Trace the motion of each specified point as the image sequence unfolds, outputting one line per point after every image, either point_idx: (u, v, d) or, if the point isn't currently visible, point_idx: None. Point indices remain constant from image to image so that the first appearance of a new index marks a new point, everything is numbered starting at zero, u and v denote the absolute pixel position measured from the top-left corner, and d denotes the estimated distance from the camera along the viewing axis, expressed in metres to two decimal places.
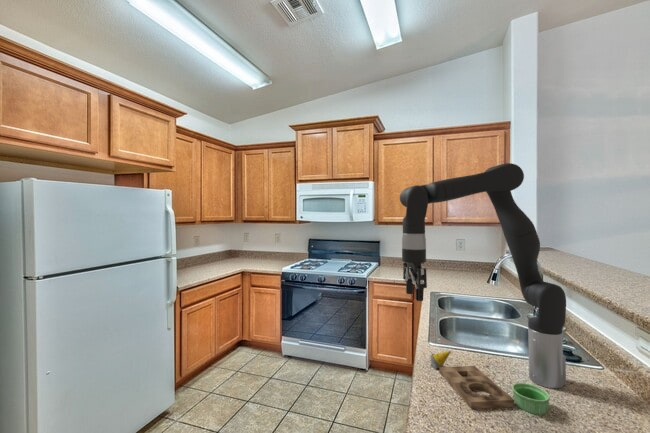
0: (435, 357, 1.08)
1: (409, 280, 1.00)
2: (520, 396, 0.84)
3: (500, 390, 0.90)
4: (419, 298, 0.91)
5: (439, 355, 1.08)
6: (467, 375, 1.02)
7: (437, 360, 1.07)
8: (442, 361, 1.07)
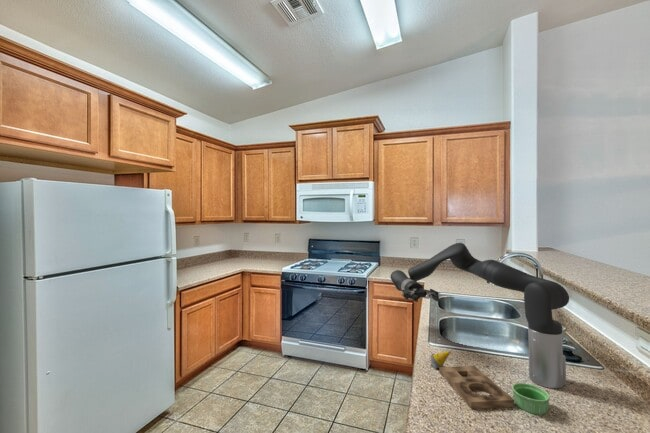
0: (435, 357, 1.08)
1: None
2: (520, 396, 0.84)
3: (500, 390, 0.90)
4: None
5: (439, 355, 1.08)
6: (467, 375, 1.02)
7: (437, 360, 1.07)
8: (442, 361, 1.07)
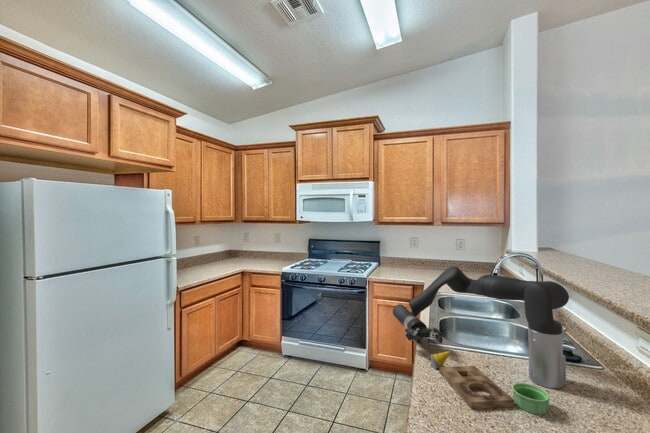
0: (435, 357, 1.08)
1: None
2: (520, 396, 0.84)
3: (500, 390, 0.90)
4: None
5: (439, 355, 1.08)
6: (467, 375, 1.02)
7: (437, 360, 1.07)
8: (442, 361, 1.07)
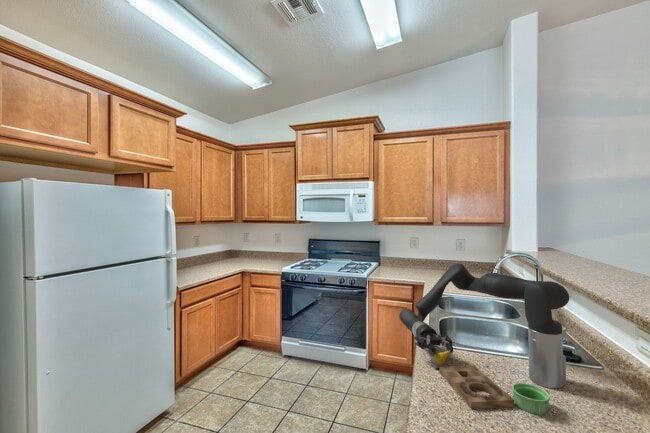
0: (435, 357, 1.08)
1: None
2: (520, 396, 0.84)
3: (500, 390, 0.90)
4: None
5: (439, 355, 1.08)
6: (467, 375, 1.02)
7: (437, 360, 1.07)
8: (442, 361, 1.07)
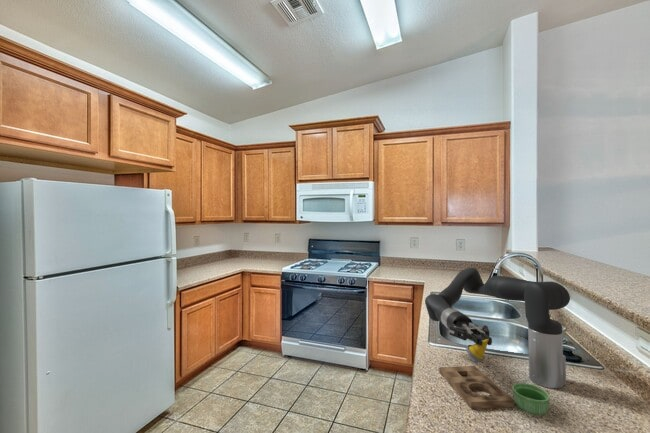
0: (472, 350, 0.90)
1: None
2: (520, 396, 0.84)
3: (500, 390, 0.90)
4: None
5: (476, 347, 0.90)
6: (467, 375, 1.02)
7: (475, 354, 0.89)
8: (482, 353, 0.89)
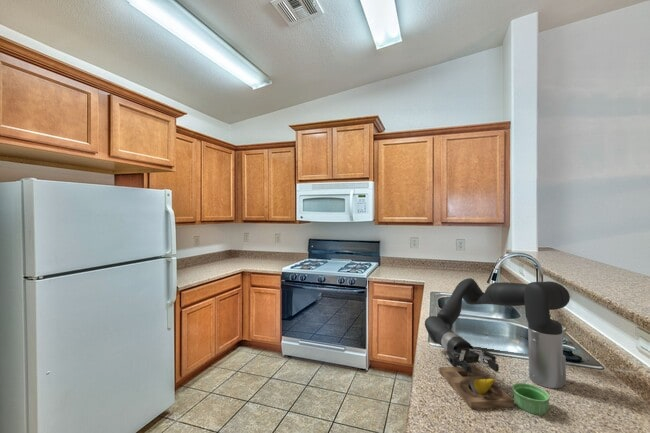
0: (475, 383, 0.91)
1: None
2: (520, 396, 0.84)
3: (500, 390, 0.90)
4: None
5: (480, 381, 0.90)
6: (467, 375, 1.02)
7: (476, 387, 0.90)
8: (483, 389, 0.89)
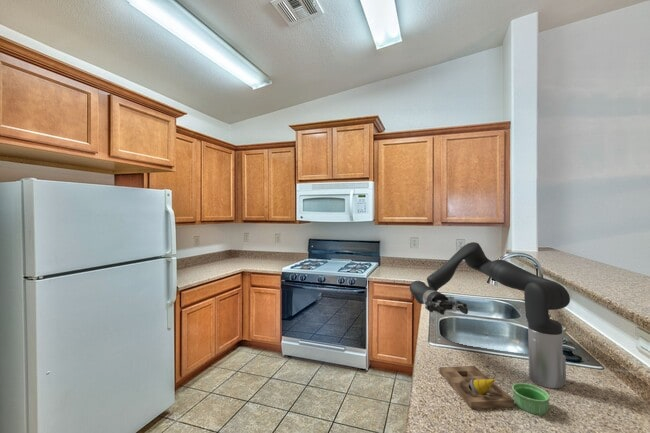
0: (475, 383, 0.91)
1: None
2: (520, 396, 0.84)
3: (500, 390, 0.90)
4: None
5: (480, 382, 0.90)
6: (467, 375, 1.02)
7: (476, 387, 0.90)
8: (483, 389, 0.89)
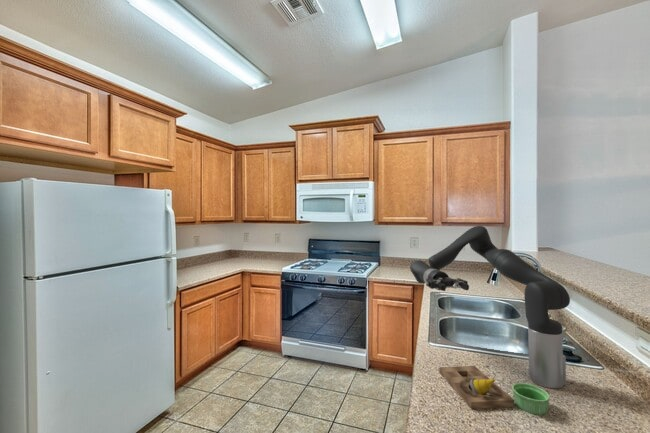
0: (475, 383, 0.91)
1: None
2: (520, 396, 0.84)
3: (500, 390, 0.90)
4: None
5: (480, 382, 0.90)
6: (467, 375, 1.02)
7: (476, 387, 0.90)
8: (483, 389, 0.89)
